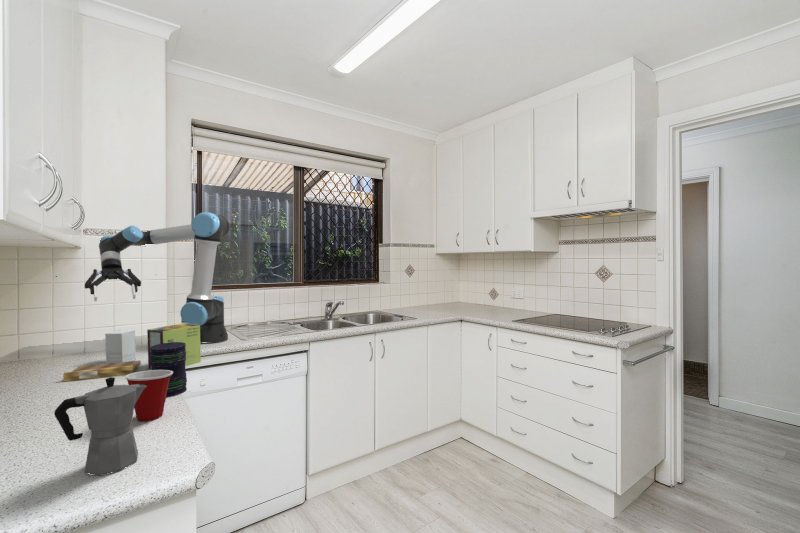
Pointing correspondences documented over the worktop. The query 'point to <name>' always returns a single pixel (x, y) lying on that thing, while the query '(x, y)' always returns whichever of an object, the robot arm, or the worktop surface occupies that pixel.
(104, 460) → the coffeepot
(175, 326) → the protein box
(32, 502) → the worktop surface
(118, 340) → the supplement box
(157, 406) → the plastic cup
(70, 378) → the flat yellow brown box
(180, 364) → the storage jar
